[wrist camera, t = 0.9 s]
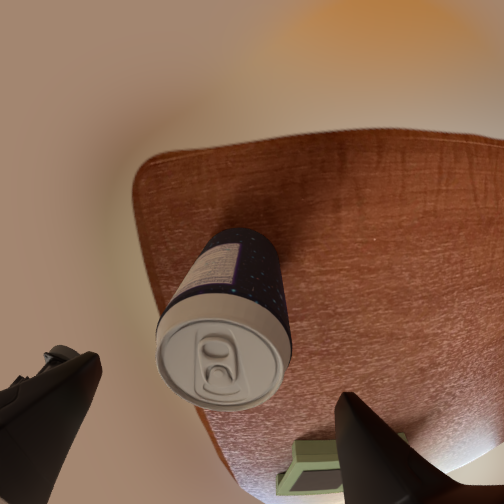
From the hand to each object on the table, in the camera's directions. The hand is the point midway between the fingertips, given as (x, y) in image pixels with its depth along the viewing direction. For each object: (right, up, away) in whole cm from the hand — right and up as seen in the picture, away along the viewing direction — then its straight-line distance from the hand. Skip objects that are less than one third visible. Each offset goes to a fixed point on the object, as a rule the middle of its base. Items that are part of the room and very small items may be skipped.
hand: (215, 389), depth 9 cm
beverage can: (0, +4, +12) cm, 13 cm away
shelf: (+14, -25, +21) cm, 35 cm away
